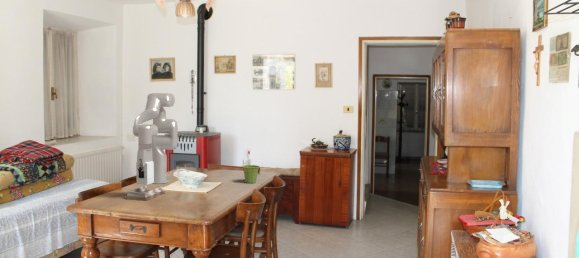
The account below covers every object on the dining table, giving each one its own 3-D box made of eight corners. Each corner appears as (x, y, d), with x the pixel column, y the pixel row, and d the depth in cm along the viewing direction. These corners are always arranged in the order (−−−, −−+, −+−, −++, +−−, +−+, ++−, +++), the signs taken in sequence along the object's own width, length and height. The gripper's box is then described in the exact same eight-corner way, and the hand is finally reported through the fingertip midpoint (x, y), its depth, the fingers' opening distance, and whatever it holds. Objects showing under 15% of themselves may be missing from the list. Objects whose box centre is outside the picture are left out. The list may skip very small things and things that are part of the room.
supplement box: (154, 182, 276) (154, 161, 275) (147, 184, 269) (147, 163, 268) (143, 181, 278) (143, 160, 277) (136, 184, 271) (135, 162, 270)
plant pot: (258, 184, 315) (258, 167, 314) (241, 183, 315) (241, 167, 314) (260, 181, 327) (260, 165, 326) (243, 180, 327) (243, 164, 326)
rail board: (144, 191, 285) (144, 185, 285) (164, 193, 282) (164, 186, 282) (124, 198, 266) (124, 191, 266) (146, 200, 263) (146, 193, 262)
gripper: (147, 144, 281) (147, 174, 282) (130, 148, 264) (130, 179, 266) (158, 145, 279) (158, 174, 281) (142, 148, 262) (142, 179, 264)
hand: (145, 176), depth 273 cm, fingers closed on supplement box, 7 cm apart
